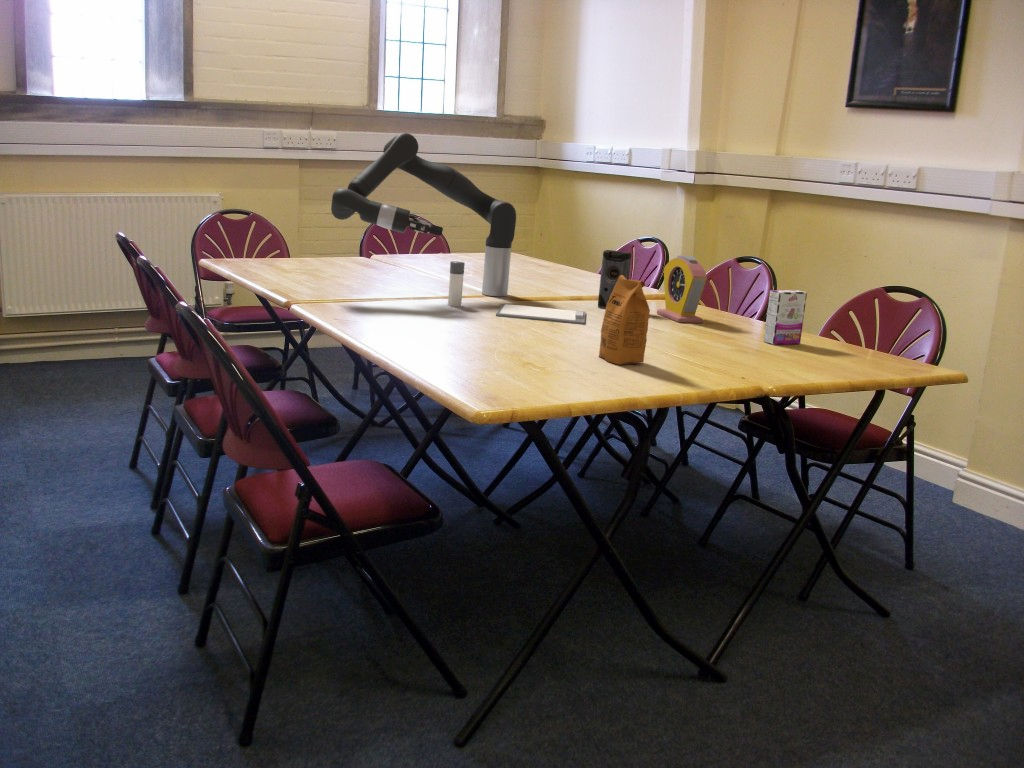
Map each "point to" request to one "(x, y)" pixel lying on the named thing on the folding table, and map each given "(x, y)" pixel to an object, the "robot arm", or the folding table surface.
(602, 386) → the folding table surface
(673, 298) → the yellow desk clock
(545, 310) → the clipboard
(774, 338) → the candy bar box
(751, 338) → the folding table surface
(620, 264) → the electronic device
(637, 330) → the coffee package
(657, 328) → the folding table surface
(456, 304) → the marker
